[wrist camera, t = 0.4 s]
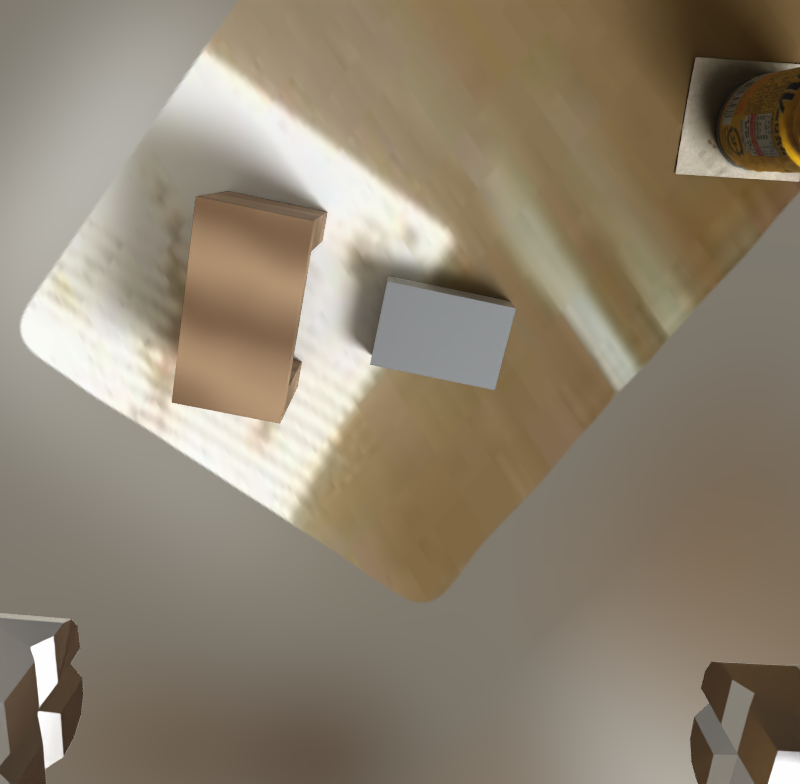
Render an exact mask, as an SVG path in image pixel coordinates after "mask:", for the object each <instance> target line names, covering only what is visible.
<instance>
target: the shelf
mask: <svg viewBox="0 0 800 784" xmlns="http://www.w3.org/2000/svg"><path fill="white" fill-rule="evenodd" d="M326 217H327V212H325V211H320V210H315V209H310V208H306V207H301V206H296V205H291V204H287V203H282V202H277V201H272V200H268V199H263V198H258V197H253V196H249V195H244V194H239V193H234V192H230V191H225V192H219V193H214V194H208V195H202V196H197V197H196V200H195V209H194V217H193V226H192V234H191V243H190V251H189V260H188V268H187V277H186V285H185V294H184V302H183V311H182V319H181V328H180V336H179V345H178V353H177V362H176V371H175V379H174V388H173V396H172V403H177V404H182V405H187V406H193V407H198V408H203V409H208V410H213V411H218V412H223V413H229V414H234V415H239V416H244V417H249V418H254V419H259V420H265V421H270V422H275V423H280V422H281V420H282V418H283V416H284V414H285V412H286V410H287V408H288V406H289V404H290V401H291V399H292V397H293V395H294V393H295V391H296V389H297V387H298V381H299V375H300V369H301V363H302V362H301V361H296V360H293V357H294V351H295V345H296V339H297V333H298V327H299V321H300V315H301V309H302V303H303V297H304V291H305V285H306V279H307V273H308V267H309V261H310V255H311V251H312V250H313V249H314V248H315V247H316V246H317V245H318V244H319V243H321V242H322V240H323V235H324V229H325V223H326Z"/></svg>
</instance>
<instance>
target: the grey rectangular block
mask: <svg viewBox="0 0 800 784" xmlns="http://www.w3.org/2000/svg"><path fill="white" fill-rule="evenodd" d="M515 310H516V308H515V307H514V305H513V304H512V303H511V301H506V300H501V299H497V298H492V297H487V296H483V295H478V294H473V293H468V292H464V291H459V290H454V289H450V288H445V287H440V286H435V285H431V284H426V283H421V282H416V281H412V280H407V279H402V278H398V277H393V276H388V279H387V284H386V289H385V294H384V299H383V303H382V308H381V313H380V318H379V323H378V328H377V333H376V338H375V342H374V347H373V352H372V357H371V363H370V365H374V366H379V367H384V368H389V369H394V370H399V371H404V372H409V373H413V374H418V375H423V376H428V377H433V378H438V379H443V380H448V381H453V382H457V383H462V384H467V385H472V386H477V387H482V388H487V389H492V390H495V386H496V383H497V379H498V375H499V371H500V367H501V363H502V360H503V356H504V352H505V348H506V344H507V340H508V337H509V333H510V329H511V325H512V321H513V317H514V314H515Z"/></svg>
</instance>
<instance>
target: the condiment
mask: <svg viewBox="0 0 800 784" xmlns="http://www.w3.org/2000/svg"><path fill="white" fill-rule="evenodd" d="M736 81H738V83H736ZM708 139H709V140H711V142H712V144H709V143H708ZM713 144H715V146H716V148H715V149H714V148H713V146H712V145H713ZM676 174H686V175H702V176H718V177H733V178H749V179H765V180H781V181H796V182H799V179H800V64H788V63H773V62H759V61H744V60H728V59H715V58H701V57H696V59H695V64H694V70H693V73H692V79H691V84H690V89H689V96H688V100H687V106H686V112H685V118H684V124H683V128H682V137H681V143H680V148H679V154H678V162H677V168H676Z"/></svg>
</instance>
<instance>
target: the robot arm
mask: <svg viewBox="0 0 800 784" xmlns="http://www.w3.org/2000/svg"><path fill="white" fill-rule="evenodd" d="M79 649H80V642H79V632H78V626H77V625H76V624H75V622H74V621H72V619H61V618H50V617H37V616H27V615H15V614H4V613H0V784H46V774H45V768H47V767H48V766H50V765H51V764H53V763H55V762H56V761H58V760H59V759H61V758H62V757H64V755H65V753H66V751H67V749H68V748H69V746H70V744H71V742H72V740H73V738H74V736H75V733H76V729H77V726H78V723H79V720H80V716H81V711H82V703H83V679H82V677H81V676H80V674H79V673H78V672H77V671H76V670H75V668H74V667H73V666H72V665H71V664H70V663H71V662H72V660H73V659H74V657H75V656H76V654H77V652H78V651H79ZM701 689H702V691H703V693H704V694H705V696H706V698H707V700H708V702H709V704H708V705H707V706H706V707H704V708H703V709H702V710H701V711H700V712H699V713H698V714H697V715H696V716H695V717H694V721H693V726H692V731H691V737H690V746H691V762H692V765H693V769H694V773H695V777H696V780H697V782H698V784H800V665H788V666H783V665H765V664H747V663H729V662H711V663H710V664H709V666H708V667H707V669H706V671H705V674H704V678H703V681H702V685H701Z"/></svg>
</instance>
